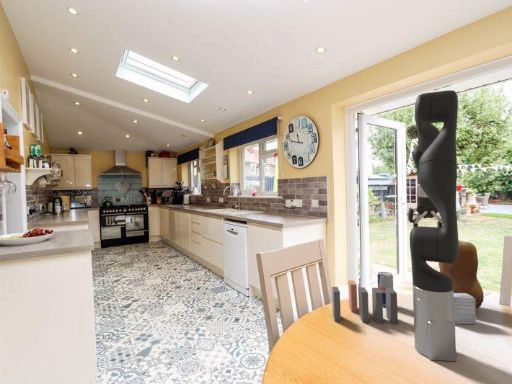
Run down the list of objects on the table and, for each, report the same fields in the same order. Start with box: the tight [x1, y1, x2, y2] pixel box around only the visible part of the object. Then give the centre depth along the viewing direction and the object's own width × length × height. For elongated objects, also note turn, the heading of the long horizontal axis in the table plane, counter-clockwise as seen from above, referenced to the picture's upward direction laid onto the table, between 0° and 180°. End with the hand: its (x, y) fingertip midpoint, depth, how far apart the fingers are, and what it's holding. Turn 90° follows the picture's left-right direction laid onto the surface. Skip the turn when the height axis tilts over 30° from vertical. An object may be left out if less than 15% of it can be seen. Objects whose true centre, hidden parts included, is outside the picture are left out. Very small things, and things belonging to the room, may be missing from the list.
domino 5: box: [385, 288, 399, 325], centre depth 93 cm, size 5×2×10 cm, turn 172°
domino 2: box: [347, 279, 358, 313], centre depth 103 cm, size 5×2×10 cm, turn 172°
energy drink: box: [377, 271, 394, 308], centre depth 106 cm, size 5×5×12 cm
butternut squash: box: [438, 239, 485, 310], centre depth 101 cm, size 14×13×25 cm
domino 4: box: [371, 287, 384, 324], centre depth 94 cm, size 5×2×10 cm, turn 172°
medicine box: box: [453, 293, 477, 325], centre depth 91 cm, size 8×4×9 cm, turn 84°
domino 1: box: [331, 286, 342, 323], centre depth 96 cm, size 5×2×10 cm, turn 172°
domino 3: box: [357, 286, 370, 324], centre depth 94 cm, size 5×2×10 cm, turn 172°
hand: (427, 230), depth 118 cm, fingers open, 8 cm apart
